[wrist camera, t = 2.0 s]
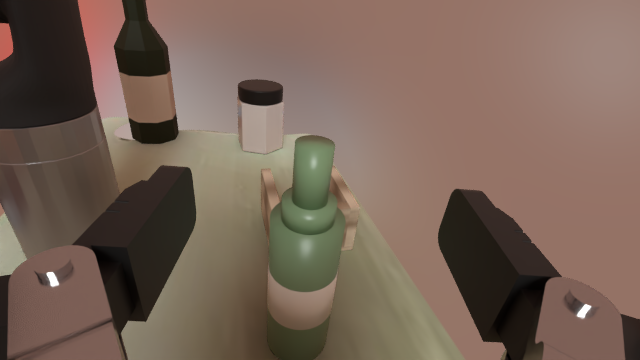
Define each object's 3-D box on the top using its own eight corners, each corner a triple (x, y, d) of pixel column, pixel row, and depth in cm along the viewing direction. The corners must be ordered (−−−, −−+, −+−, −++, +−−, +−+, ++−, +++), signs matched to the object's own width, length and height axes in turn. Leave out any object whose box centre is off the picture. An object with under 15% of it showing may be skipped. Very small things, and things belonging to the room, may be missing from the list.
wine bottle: (151, 124, 70) (121, -47, 55) (187, 131, 69) (167, -42, 54) (122, 139, 63) (79, -52, 48) (162, 147, 62) (130, -47, 47)
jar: (286, 140, 70) (289, 82, 64) (276, 157, 63) (278, 94, 57) (245, 134, 71) (244, 76, 65) (231, 149, 64) (228, 87, 58)
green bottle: (253, 342, 31) (252, 145, 20) (289, 300, 35) (301, 120, 25) (306, 376, 28) (333, 174, 18) (336, 327, 33) (372, 141, 23)
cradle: (352, 249, 43) (360, 207, 39) (271, 259, 40) (272, 215, 37) (329, 203, 51) (334, 165, 48) (261, 208, 48) (261, 169, 45)
